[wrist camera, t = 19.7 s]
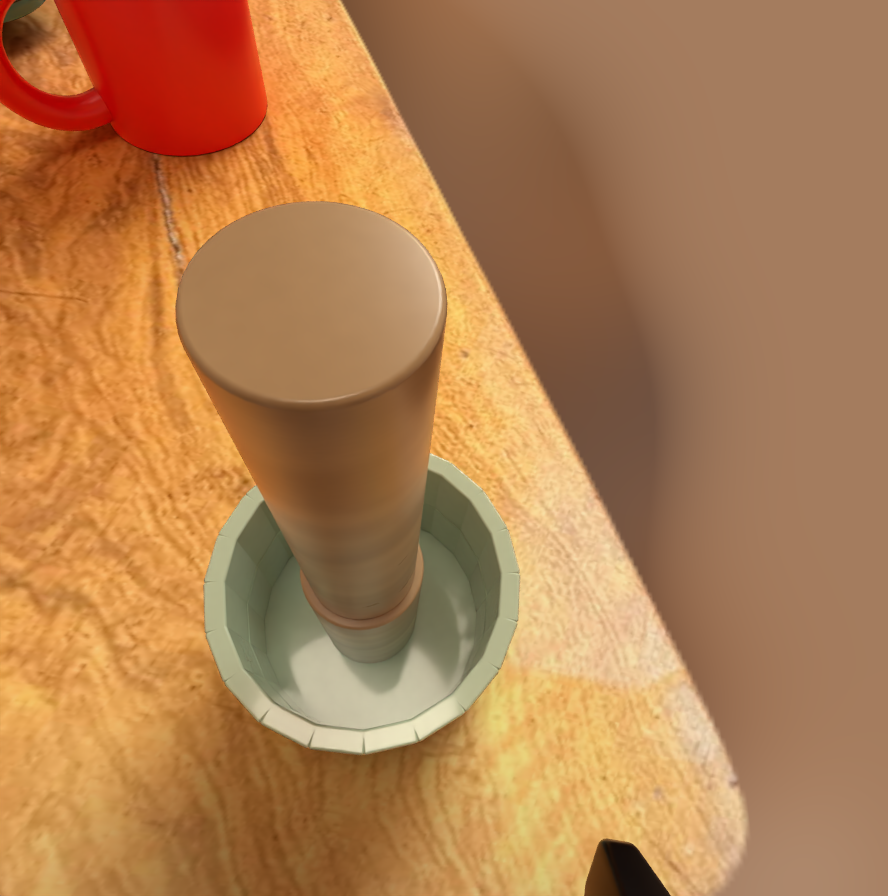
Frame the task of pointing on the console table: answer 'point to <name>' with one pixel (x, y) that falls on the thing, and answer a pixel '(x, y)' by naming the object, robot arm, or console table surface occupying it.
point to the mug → (153, 74)
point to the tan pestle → (328, 397)
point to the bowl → (323, 666)
